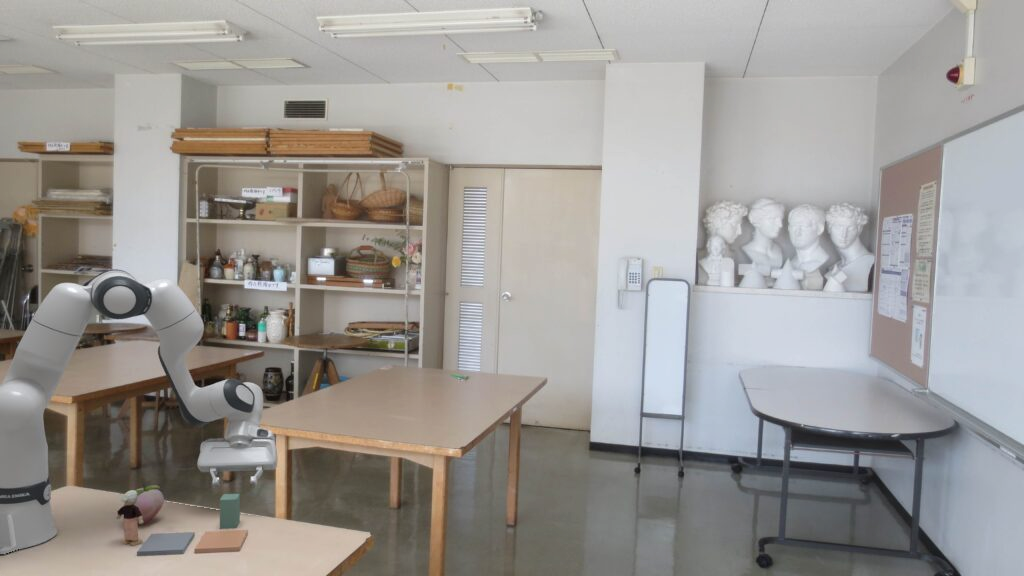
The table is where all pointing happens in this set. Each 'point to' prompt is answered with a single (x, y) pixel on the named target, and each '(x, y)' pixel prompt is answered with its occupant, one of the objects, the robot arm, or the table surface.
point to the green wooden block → (229, 511)
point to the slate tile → (166, 543)
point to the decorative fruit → (149, 501)
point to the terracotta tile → (221, 541)
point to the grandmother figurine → (130, 518)
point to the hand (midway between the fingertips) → (234, 484)
